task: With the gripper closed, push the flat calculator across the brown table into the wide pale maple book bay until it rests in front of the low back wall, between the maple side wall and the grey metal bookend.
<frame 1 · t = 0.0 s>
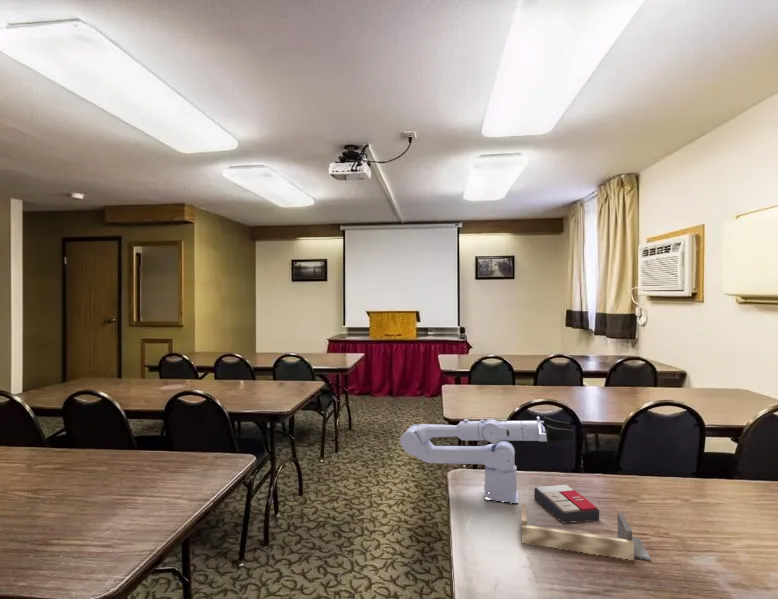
hand: (571, 430, 122), 22 cm above the table, tool horizontal, fingers open, 7 cm apart
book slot: (571, 535, 106), on the table
calculator: (565, 510, 120), on the table
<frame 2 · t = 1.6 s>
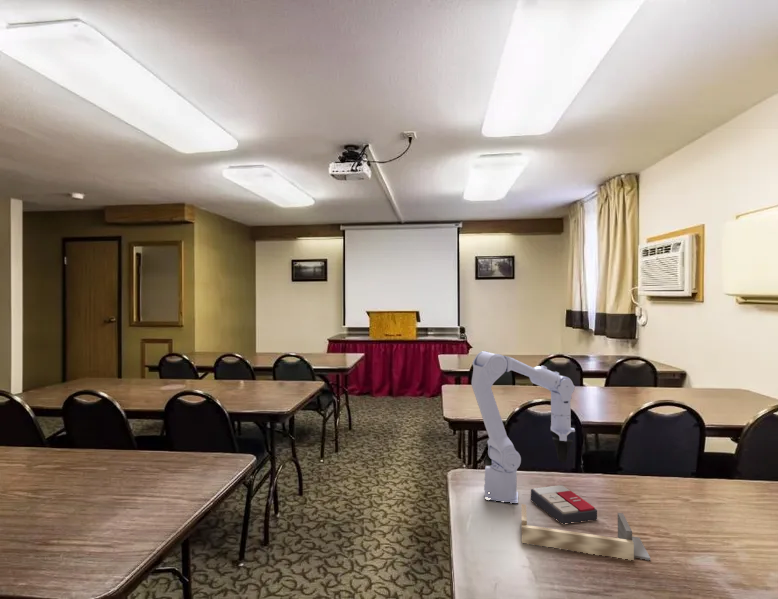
hand: (561, 457, 132), 10 cm above the table, tool pointing down, fingers open, 7 cm apart
calculator: (562, 511, 120), on the table
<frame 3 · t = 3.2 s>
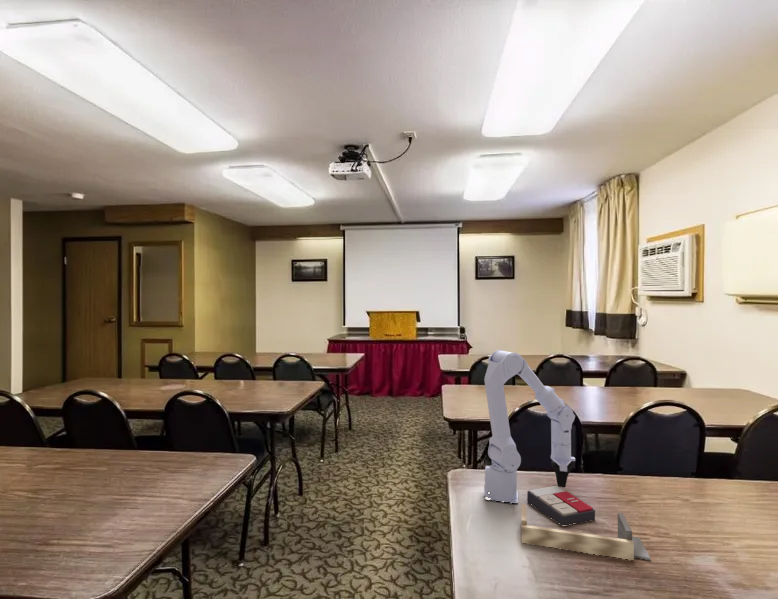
hand: (561, 486, 132), 1 cm above the table, tool pointing down, fingers closed
calculator: (559, 512, 119), on the table
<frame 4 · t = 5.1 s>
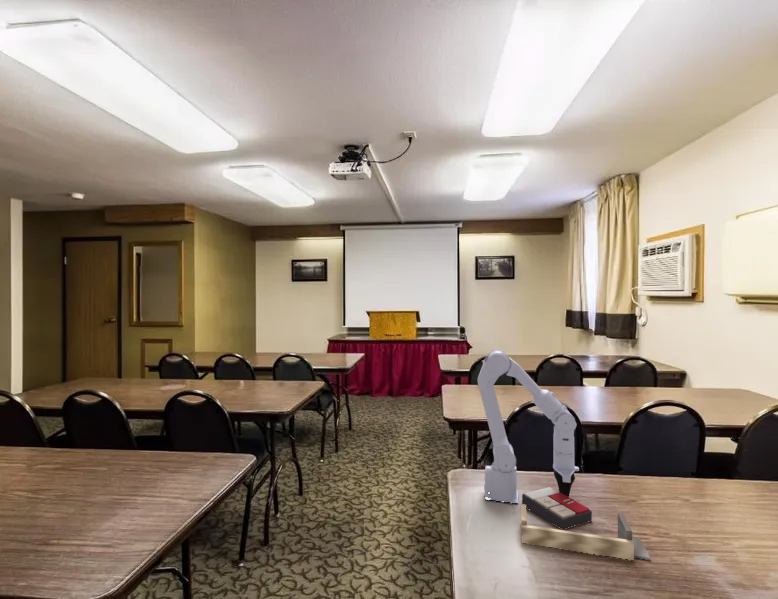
hand: (564, 497, 124), 1 cm above the table, tool pointing down, fingers closed
calculator: (555, 514, 118), on the table
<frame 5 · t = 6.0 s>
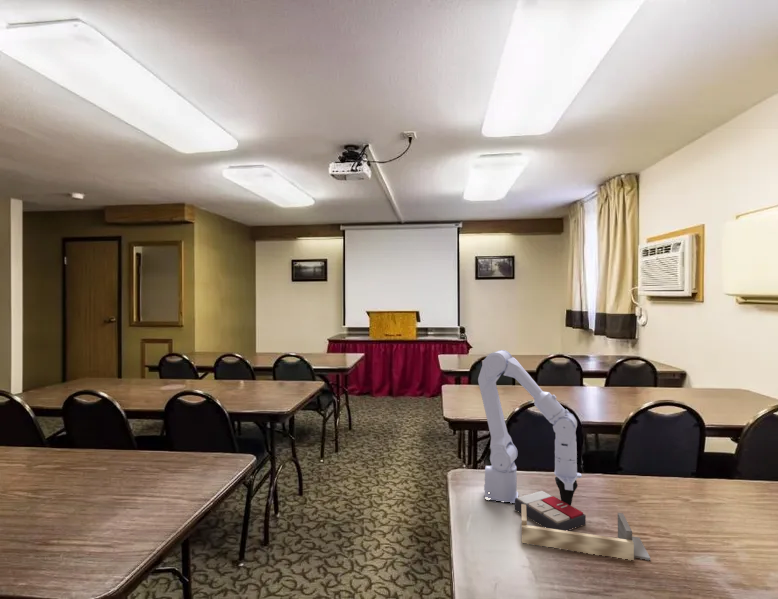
hand: (566, 505, 119), 1 cm above the table, tool pointing down, fingers closed
calculator: (548, 519, 115), on the table
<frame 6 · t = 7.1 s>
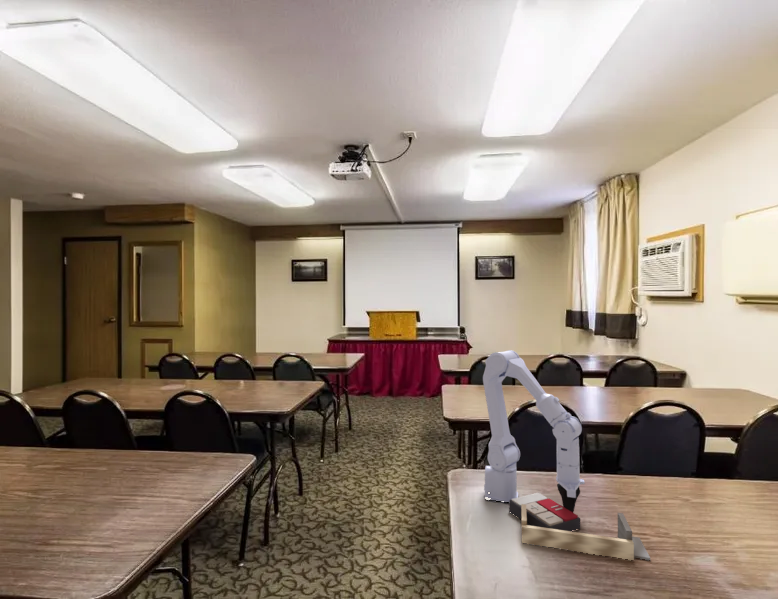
hand: (568, 513, 114), 2 cm above the table, tool pointing down, fingers closed
calculator: (543, 521, 113), on the table, touching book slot, gripper
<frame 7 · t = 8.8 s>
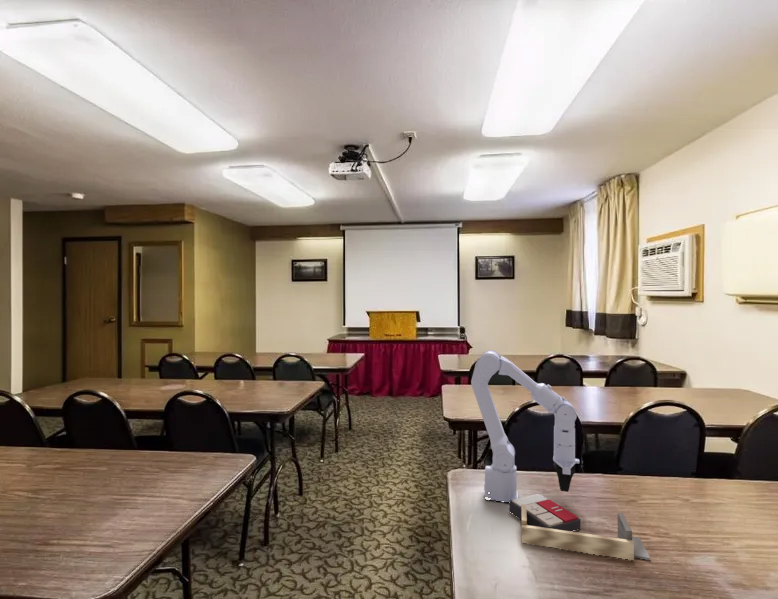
hand: (564, 490, 122), 4 cm above the table, tool pointing down, fingers closed
calculator: (543, 522, 113), on the table
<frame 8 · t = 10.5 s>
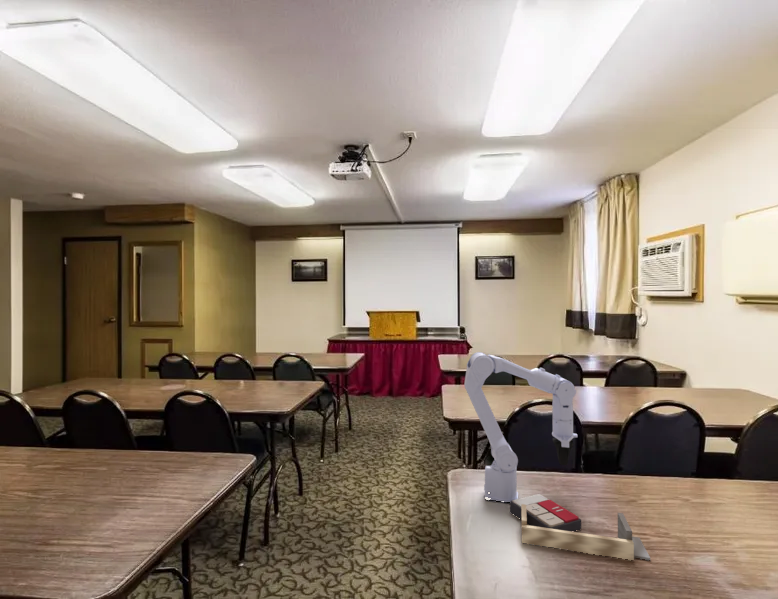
hand: (563, 464, 126), 10 cm above the table, tool pointing down, fingers closed
nothing on the table moved.
at the end: calculator inside the target area on the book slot (8.4 cm from its centre), point -0.7 cm above the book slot's base; calculator moved 11.3 cm from its start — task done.
